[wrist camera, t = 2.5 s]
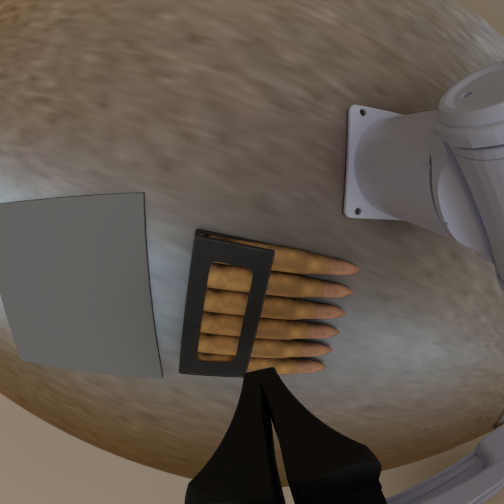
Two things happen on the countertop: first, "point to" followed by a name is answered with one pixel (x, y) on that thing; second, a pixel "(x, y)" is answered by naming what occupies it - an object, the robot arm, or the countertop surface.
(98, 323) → the mat
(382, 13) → the countertop surface
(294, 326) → the ammunition clip
